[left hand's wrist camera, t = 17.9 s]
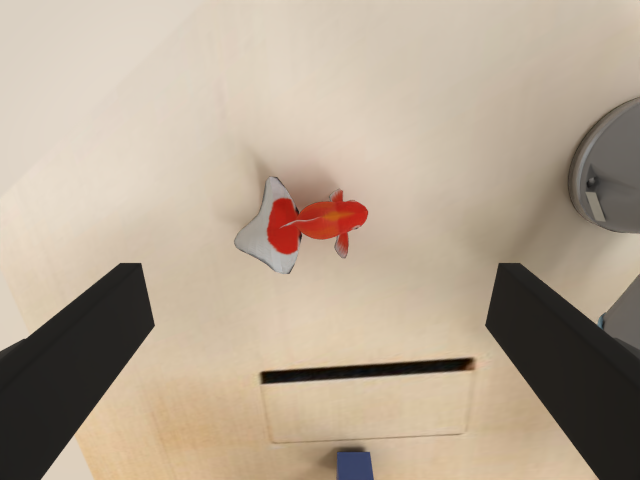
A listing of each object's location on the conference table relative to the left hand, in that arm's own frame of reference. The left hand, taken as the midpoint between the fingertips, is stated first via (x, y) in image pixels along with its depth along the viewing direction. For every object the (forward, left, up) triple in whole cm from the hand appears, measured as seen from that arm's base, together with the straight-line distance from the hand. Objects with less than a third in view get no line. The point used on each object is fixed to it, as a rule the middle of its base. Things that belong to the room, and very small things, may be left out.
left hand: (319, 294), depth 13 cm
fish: (+7, +1, -29) cm, 30 cm away
